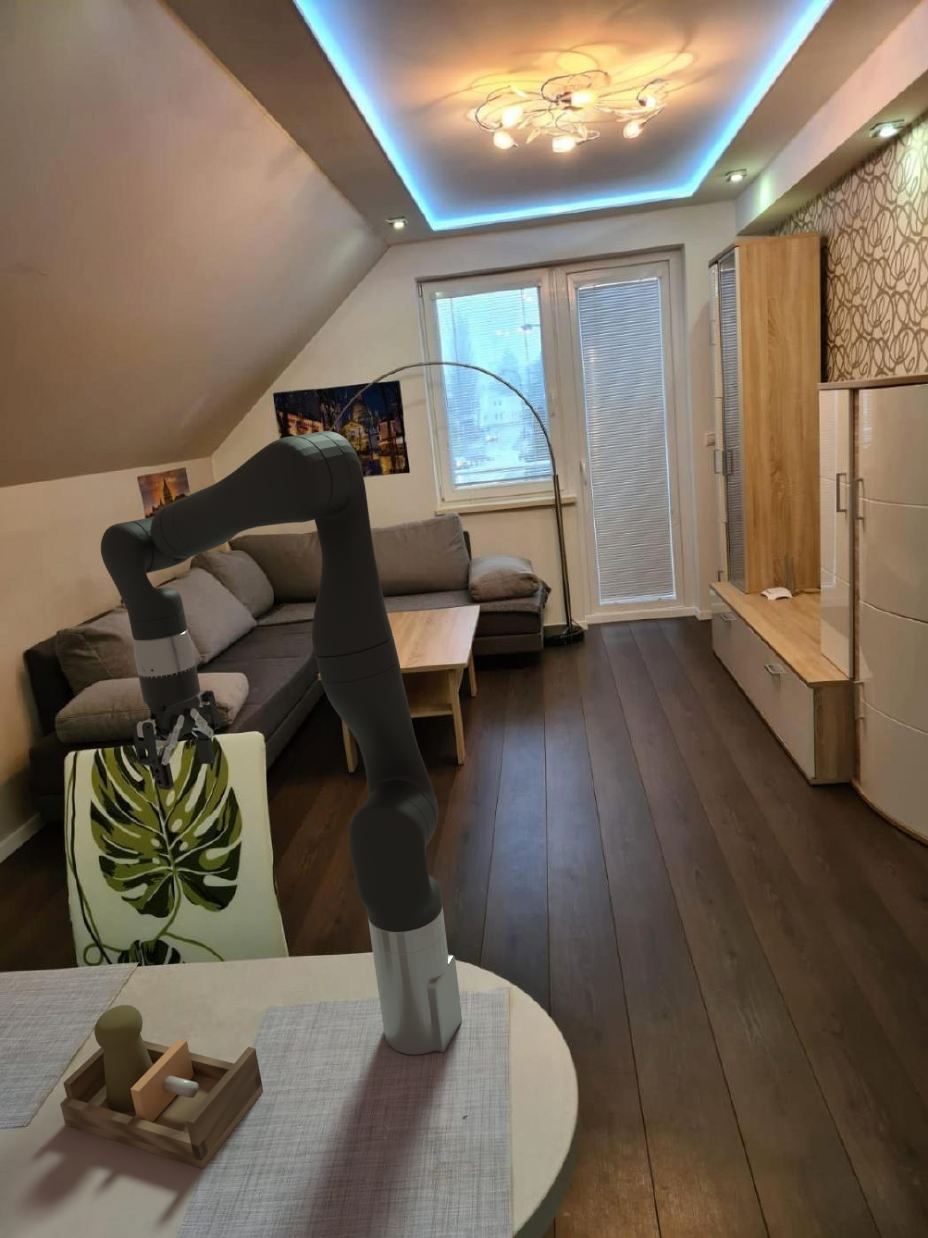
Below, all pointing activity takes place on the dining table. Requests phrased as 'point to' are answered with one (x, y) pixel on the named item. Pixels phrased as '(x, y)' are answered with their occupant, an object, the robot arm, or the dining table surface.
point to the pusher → (164, 1082)
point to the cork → (122, 1054)
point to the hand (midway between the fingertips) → (187, 775)
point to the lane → (169, 1107)
